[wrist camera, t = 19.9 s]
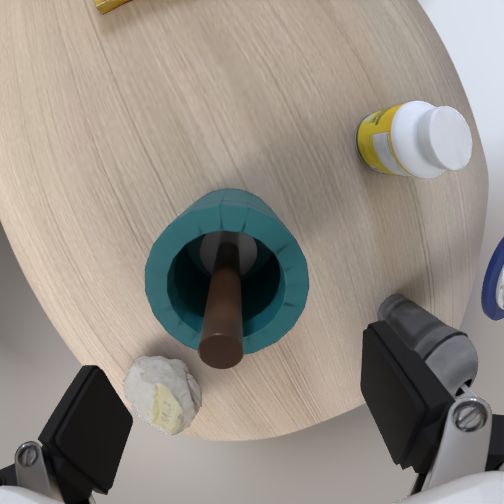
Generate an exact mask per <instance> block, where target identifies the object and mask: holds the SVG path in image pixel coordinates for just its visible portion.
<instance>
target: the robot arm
mask: <svg viewBox="0 0 504 504" xmlns="http://www.w3.org/2000/svg"><path fill="white" fill-rule="evenodd" d="M496 303H497V305H498V306H499V307H500V308H501V309H504V265H503V267H502V269H501V272H500V275H499V278H498V282H497V287H496ZM360 386H361V392H362V394H363V397H364V399H365V401H366V403H367V405H368V407H369V409H370V411H371V413H372V415H373V418H374V419H375V422H376V424H377V426H378V428H379V431H380V433H381V435H382V437H383V439H384V442H385V444H386V446H387V448H388V450H389V453H390V455H391V457H392V459H393V462H394V463H395V464H396V465H397V464H400V465H401V467H402V469H405V468H408V467H410V466H412V467H413V469H414V471H415V472H416V473H417V475H416V477H415V480H414V482H413V485H412V487H411V490H410V492H409V494H408V496H407V498H404V499H401V500H399V501H396V502H393V503H391V504H504V415H496V414H492V410H491V408H490V406H489V404H488V403H486V401H485V400H483V399H481V398H478V397H474V396H470V397H464V398H461V399H459V400H458V401H455V400H454V398H453V397H452V396H451V394H450V393H449V392H448V390H447V389H446V388H445V387H444V385H443V384H442V383H441V381H440V380H439V379H438V378H437V376H436V375H435V374H434V373H433V371H432V370H431V369H430V368H429V366H428V365H427V364H426V363H425V361H424V360H423V359H422V358H421V357H420V355H419V354H418V353H417V352H416V351H415V350H412V349H411V350H410V349H409V348H408V347H407V346H406V344H405V343H404V342H403V341H402V340H401V338H400V337H399V336H398V335H397V333H396V332H395V331H394V330H393V329H392V327H391V326H390V325H389V324H388V323H387V322H386V321H385V320H381V321H378V322H375V323H371V324H369V325H368V327H367V329H366V330H364V331H363V348H362V369H361V384H360ZM132 423H133V418H132V416H131V414H130V412H129V411H128V410H127V408H126V406H125V405H124V403H123V402H122V400H121V399H120V397H119V396H118V394H117V393H116V391H115V389H114V388H113V386H112V385H111V383H110V381H109V380H108V378H107V376H106V374H105V373H104V371H103V370H102V369H100V368H99V367H98V366H96V365H85V366H83V367H82V368H81V369H80V371H79V373H78V374H77V375H76V377H75V378H74V380H73V382H72V383H71V385H70V386H69V388H68V389H67V391H66V392H65V394H64V396H63V397H62V399H61V401H60V402H59V404H58V405H57V407H56V409H55V410H54V412H53V413H52V415H51V417H50V419H49V420H48V422H47V424H46V425H45V427H44V429H43V431H42V433H41V434H40V436H39V438H38V440H39V441H40V442H41V443H42V444H43V446H42V447H41V446H40V445H39V444H38V443H36V442H33V441H29V442H26V443H24V444H22V445H21V446H20V447H19V448H18V449H17V451H16V454H15V463H14V464H12V465H10V466H8V467H5V468H3V469H1V470H0V504H96V502H95V500H94V498H93V496H92V494H91V493H92V490H94V491H95V492H97V493H100V494H105V495H107V494H108V490H109V489H111V488H112V485H113V482H114V478H115V476H116V472H117V469H118V466H119V463H120V459H121V456H122V453H123V450H124V447H125V444H126V441H127V438H128V435H129V433H130V430H131V427H132Z"/></svg>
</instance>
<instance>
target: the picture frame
mask: <svg viewBox="0 0 504 504" xmlns="http://www.w3.org/2000/svg"><path fill="white" fill-rule="evenodd" d="M129 1H131V0H95V4H96V8H97V9H98V10H99V11H100V12H101V13H102V14H105V13H107V12H109V11H111V10H112V9H114V8H116V7H118V6H120V5H123V4H125V3H127V2H129Z"/></svg>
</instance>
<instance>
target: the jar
mask: <svg viewBox="0 0 504 504" xmlns="http://www.w3.org/2000/svg"><path fill="white" fill-rule="evenodd" d="M217 231H231V232H240V233H244V234H246V235H248V236H251V237H253V238H255V240H256V243H257V248H258V256H257V260H256V263H255V265H254V266H253V268H252V269H251V270H250V271H249V272H248V273H247V274H246V275H244V276H242V277H240V279H241V303H242V325H243V345H244V354H249V353H254V352H256V351H258V350H261V349H263V348H265V347H267V346H269V345H271V344H273V343H275V342H277V341H278V340H279V339H280V338H281V337H282V336H284V335H285V334H286V333H287V332H288V331H289V330H290V329H292V327H293V326H294V325H295V323H296V321H297V320H298V318H299V316H300V315H301V313H302V311H303V310H304V308H305V304H306V299H307V295H308V290H309V277H308V269H307V262H306V259H305V257H304V255H303V253H302V251H301V249H300V247H299V245H298V243H297V241H296V239H295V238H294V237H293V235H292V234H291V233H290V232H289V230H288V229H287V228H286V227H285V225H284V224H283V223H282V222H281V220H280V219H279V218H278V217H277V216H276V214H275V213H274V212H273V211H272V210H271V208H270V207H269V206H268V205H267V204H265V202H264V201H262V200H261V199H260V198H259V197H257V196H255V195H253V194H251V193H249V192H247V191H243V190H239V189H222V190H217V191H214V192H211V193H209V194H207V195H205V196H203V197H202V198H200V199H199V200H197V201H196V202H195V203H194V204H192V205H191V206H190V207H189V208H188V209H187V210H185V211H184V212H183V213H182V214H181V215H180V216H179V217H177V218H176V219H175V220H174V221H173V222H172V223H171V224H169V225H168V227H167V228H166V229H165V230H164V231H163V233H162V234H161V235H160V236H159V238H158V239H157V240H156V241H155V243H154V244H153V246H152V249H151V251H150V254H149V257H148V260H147V263H146V266H145V292H146V295H147V298H148V301H149V303H150V306H151V309H152V311H153V313H154V316H155V317H156V318H157V320H158V321H159V322H160V323H161V325H162V326H163V327H164V329H165V330H166V331H167V332H168V333H169V334H170V335H171V336H173V337H174V338H176V339H177V340H178V341H180V342H181V343H183V344H184V345H185V346H188V347H190V348H193V349H196V350H198V344H199V339H200V334H201V329H202V323H203V318H204V313H205V308H206V303H207V298H208V293H209V288H210V283H211V278H212V274H210V273H209V272H208V271H207V270H206V269H205V268H204V266H203V265H202V263H201V260H200V256H199V247H200V243H201V240H202V238H203V236H204V234H208V233H212V232H217ZM244 354H243V355H244Z"/></svg>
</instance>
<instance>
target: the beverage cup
mask: <svg viewBox="0 0 504 504" xmlns="http://www.w3.org/2000/svg"><path fill="white" fill-rule="evenodd" d="M378 320H379V321H381V320H385V321H386V322H387V323H388V324H389V325H390V326H391V327H392V329H393V330H394V331H395V332H396V333H397V335H398V336H399V337H400V338H401V340H402V341H403V342H404V343H405V344H406V346H407V347H408V348H409V349H410V350H411V349H412V350H415V351H416V352H417V353H418V354H419V355H420V357H421V358H422V359H423V360H424V361H425V363H426V364H427V365H428V366H429V368H430V369H431V370H432V371H433V373H434V374H435V375H436V376H437V378H438V379H439V380H440V381H441V383H442V384H443V385H444V387H445V388H446V389H447V390H448V392H449V393H450V394H451V396H452V397H453V398H454V400H455V399H457V398H459V397H461V396H462V395H463V394H464V393H466V394H467V395H468V397H470V396H474V397H476V396H475V395H474V393H473V392H472V391H471V390H470V389H469V388H470V387H471V385H472V383H473V382H474V379H475V377H476V374H477V370H478V356H477V352H476V350H475V347H474V345H473V344H472V342H471V341H470V339H469V338H468V336H467V334H465V333H463V332H460V331H458V330H456V329H454V328H452V327H450V326H448V325H446V324H445V323H443V322H442V321H441V320H439V319H438V318H436V317H435V316H433V315H432V314H430V313H429V312H427V311H426V310H425V309H423V308H422V307H420V306H419V305H417V304H416V303H414V302H413V301H411V300H409V299H407V298H405V297H404V296H402V295H397V294H396V295H393V296H390V297H389V298H387V299H386V300H385V301H384V302H383V303H382V305H381V306H380V308H379V311H378Z"/></svg>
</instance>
